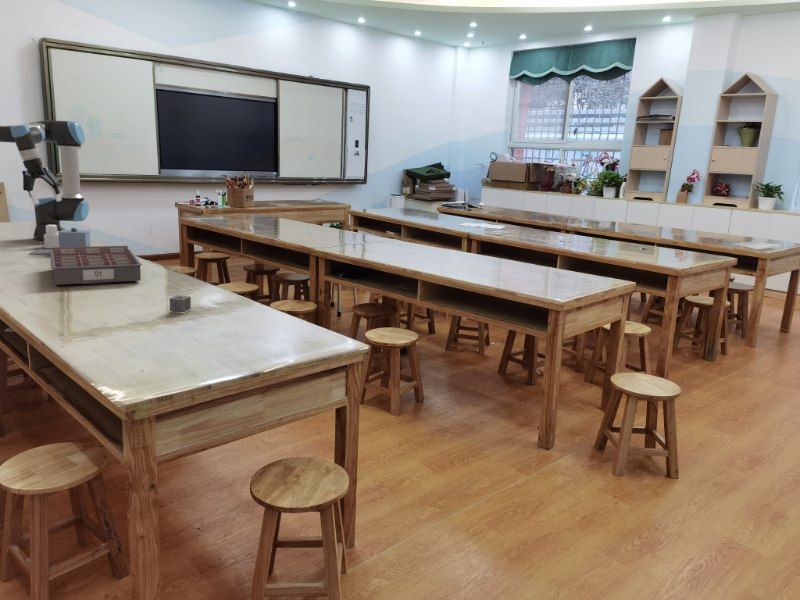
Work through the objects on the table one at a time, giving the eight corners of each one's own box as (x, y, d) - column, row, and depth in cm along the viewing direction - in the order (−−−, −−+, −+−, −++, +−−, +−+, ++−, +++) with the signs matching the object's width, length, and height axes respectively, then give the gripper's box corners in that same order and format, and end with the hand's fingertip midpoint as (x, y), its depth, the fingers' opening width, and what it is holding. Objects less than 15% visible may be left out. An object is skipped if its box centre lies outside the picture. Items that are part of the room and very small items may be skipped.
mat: (37, 250, 303) (37, 249, 303) (59, 251, 306) (59, 249, 305) (29, 254, 292) (28, 253, 292) (51, 255, 294) (51, 253, 294)
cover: (65, 251, 304) (63, 226, 301) (90, 252, 307) (89, 227, 304) (59, 254, 297) (57, 228, 294) (86, 254, 299) (84, 229, 296)
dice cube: (170, 312, 206) (169, 298, 205) (177, 309, 211) (177, 295, 209) (183, 314, 205) (183, 299, 204) (190, 310, 210) (190, 296, 209)
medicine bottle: (47, 246, 317) (45, 223, 314) (63, 246, 319) (61, 223, 316) (44, 248, 310) (42, 225, 307) (59, 248, 312) (58, 225, 310)
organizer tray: (52, 288, 230) (50, 263, 227) (51, 269, 263) (49, 246, 261) (143, 284, 246) (142, 260, 243) (131, 266, 279) (130, 245, 277)
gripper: (4, 163, 285) (21, 207, 293) (46, 156, 279) (63, 201, 286) (16, 160, 292) (33, 203, 300) (58, 153, 285) (74, 197, 293)
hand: (48, 202), depth 293 cm, fingers open, 13 cm apart
